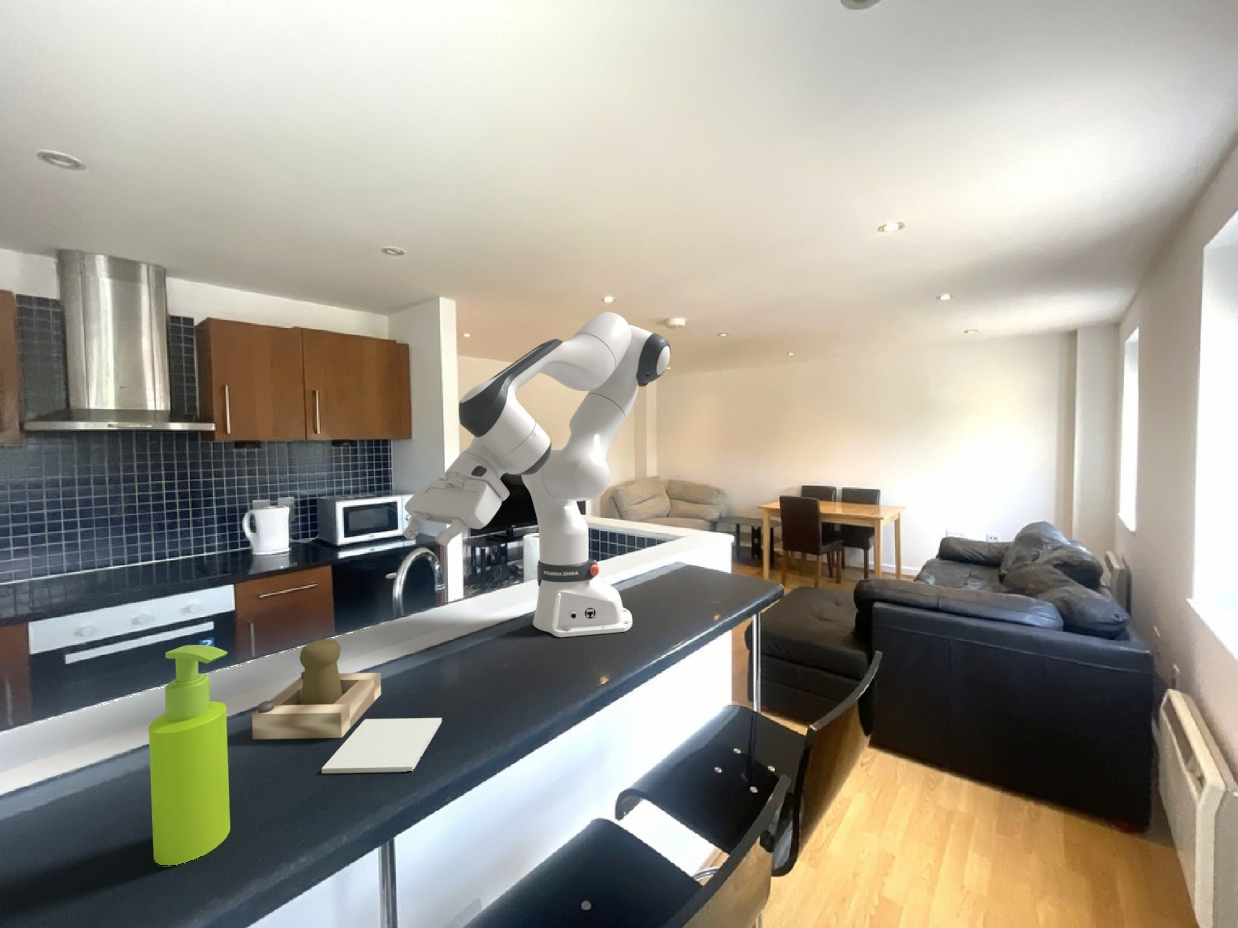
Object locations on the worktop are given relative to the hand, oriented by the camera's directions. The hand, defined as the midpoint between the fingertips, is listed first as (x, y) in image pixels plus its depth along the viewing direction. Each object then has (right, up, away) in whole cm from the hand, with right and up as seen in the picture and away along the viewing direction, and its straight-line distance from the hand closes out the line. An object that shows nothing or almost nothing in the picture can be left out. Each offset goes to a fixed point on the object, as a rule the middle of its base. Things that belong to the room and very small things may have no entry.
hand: (423, 540), depth 85 cm
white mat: (+2, -25, -19) cm, 31 cm away
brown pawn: (-11, -25, -11) cm, 29 cm away
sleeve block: (-11, -24, -11) cm, 29 cm away
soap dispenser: (-9, -26, -35) cm, 44 cm away
